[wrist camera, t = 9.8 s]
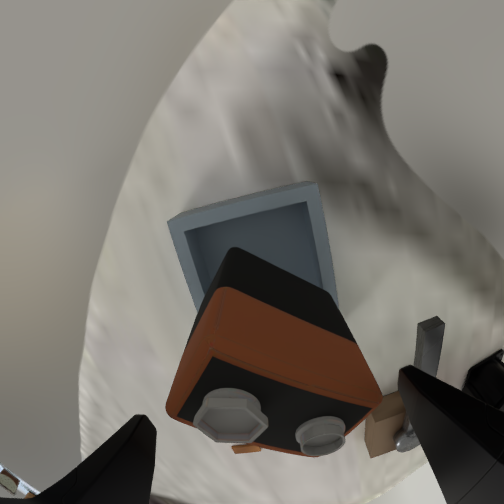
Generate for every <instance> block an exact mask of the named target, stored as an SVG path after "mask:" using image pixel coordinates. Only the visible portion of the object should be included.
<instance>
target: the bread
mask: <svg viewBox="0 0 504 504" xmlns="http://www.w3.org/2000/svg"><path fill="white" fill-rule="evenodd" d="M34 496H35V495H34V494H32V493H27V495H26V497H25V498H24V499H26V498H32V497H34Z"/></svg>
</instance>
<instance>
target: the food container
mask: <svg viewBox="0 0 504 504" xmlns="http://www.w3.org/2000/svg"><path fill="white" fill-rule="evenodd" d="M19 482H20V481H19V480H18V479H17V478H15V477H14V476H13V475H11V474H10V473H9V472H7V471H6V470H5V469H3V470H2V471H1V472H0V486H2V487H3V488H4V489H5V490H7V491H8V492H9V493H10V494H12V495H14V496H15V495H16V490H17V487H18V485H19Z"/></svg>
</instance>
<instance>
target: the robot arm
mask: <svg viewBox="0 0 504 504" xmlns="http://www.w3.org/2000/svg"><path fill="white" fill-rule="evenodd" d="M503 354H504V351H503V350H502V349H501V350H500V351H498V352H496V353H495V354H493V355H492V356H490V357H489V358H487V359H485V360H484V361H482V362H480V363H479V364H477V365H475V366H473V367H472V368H471V369H470V370H469V372H468V375H467V378H466V381H465V384H464V387H463V390H462V391H461V390H459V389H457V388H455V387H453V386H451V385H449V384H447V383H445V382H443V381H441V380H439V379H437V378H435V377H434V376H432V375H430V374H428V373H426V372H424V371H422V370H420V369H418V368H416V367H415V366H413V365H408V366H405V367H402V368H401V369H400V370H399V377H398V390H399V393H400V396H401V398H402V401H403V404H404V406H405V409H406V412H407V415H408V418H409V421H410V423H411V426H412V428H413V430H414V432H415V434H416V436H417V438H418V440H419V442H420V444H421V446H422V449H423V451H424V453H425V455H426V457H427V459H428V461H429V464H430V466H431V468H432V470H433V472H434V474H435V477H436V479H437V481H438V484H439V486H440V488H441V491H442V493H443V495H444V498H445V500H446V503H447V504H504V363H503V362H502V361H501V360H502V357H503ZM156 436H157V431H156V428H155V426H154V425H153V424H152V422H151V421H150V420H149V418H148V417H147V416H146V415H139V414H137V415H134V416H133V417H132V418H131V419H130V420H129V421H128V422H127V423H126V424H124V425H123V426H122V427H121V428H120V429H119V430H118V431H117V432H116V433H114V434H113V435H112V436H111V437H110V438H109V439H108V440H107V441H106V442H104V443H103V444H102V445H101V446H100V447H99V448H98V449H97V450H95V451H94V452H93V453H92V454H91V455H90V456H88V457H87V458H86V459H85V460H84V461H83V462H82V463H80V464H79V465H78V466H77V467H76V468H75V469H73V470H72V471H71V472H70V473H69V474H67V475H66V476H65V477H63V478H62V479H61V480H59V481H58V482H56V483H55V484H54V485H52V486H51V487H49V488H47V489H46V490H44V491H43V492H41V493H40V494H38V495H36V496H34V497H32V498H26V499H17V498H1V497H0V504H149V499H150V493H151V486H152V480H153V474H154V467H155V453H156Z"/></svg>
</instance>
